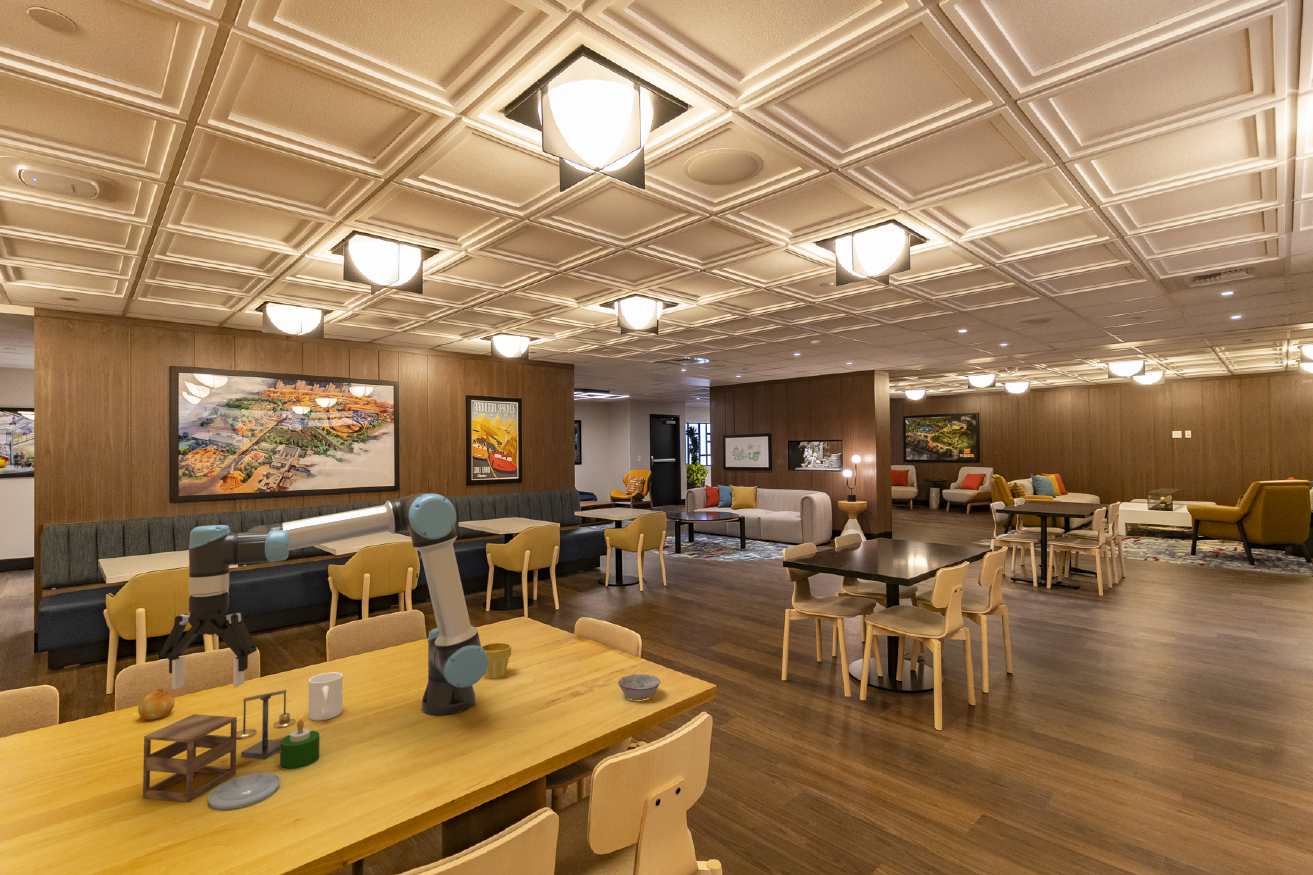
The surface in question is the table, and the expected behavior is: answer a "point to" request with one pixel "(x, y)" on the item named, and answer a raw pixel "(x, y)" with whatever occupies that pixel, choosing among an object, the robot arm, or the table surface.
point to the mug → (325, 696)
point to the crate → (189, 755)
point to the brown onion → (156, 705)
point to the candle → (299, 748)
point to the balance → (264, 729)
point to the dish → (243, 791)
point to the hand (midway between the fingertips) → (208, 686)
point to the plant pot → (497, 659)
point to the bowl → (639, 686)
